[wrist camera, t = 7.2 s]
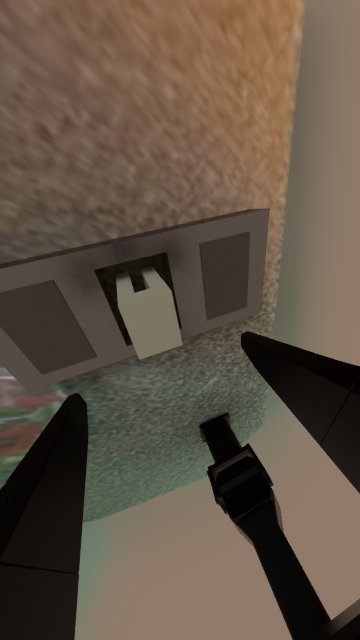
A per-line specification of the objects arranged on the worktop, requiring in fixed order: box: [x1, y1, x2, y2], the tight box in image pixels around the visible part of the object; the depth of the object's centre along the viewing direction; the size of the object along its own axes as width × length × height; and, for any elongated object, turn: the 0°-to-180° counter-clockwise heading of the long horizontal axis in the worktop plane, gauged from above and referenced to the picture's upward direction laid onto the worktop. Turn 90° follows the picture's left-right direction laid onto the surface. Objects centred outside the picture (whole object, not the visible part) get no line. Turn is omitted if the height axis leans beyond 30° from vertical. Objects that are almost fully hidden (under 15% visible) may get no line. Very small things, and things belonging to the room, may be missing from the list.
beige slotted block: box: [116, 266, 183, 360], centre depth 16 cm, size 5×4×8 cm
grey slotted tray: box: [0, 208, 270, 392], centre depth 18 cm, size 11×26×3 cm, turn 100°
